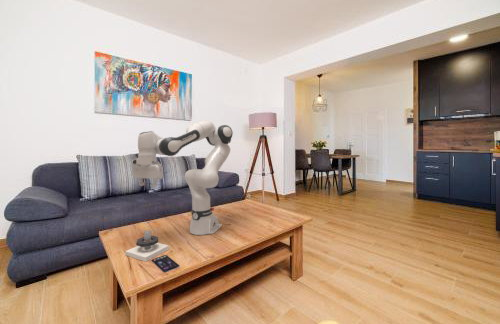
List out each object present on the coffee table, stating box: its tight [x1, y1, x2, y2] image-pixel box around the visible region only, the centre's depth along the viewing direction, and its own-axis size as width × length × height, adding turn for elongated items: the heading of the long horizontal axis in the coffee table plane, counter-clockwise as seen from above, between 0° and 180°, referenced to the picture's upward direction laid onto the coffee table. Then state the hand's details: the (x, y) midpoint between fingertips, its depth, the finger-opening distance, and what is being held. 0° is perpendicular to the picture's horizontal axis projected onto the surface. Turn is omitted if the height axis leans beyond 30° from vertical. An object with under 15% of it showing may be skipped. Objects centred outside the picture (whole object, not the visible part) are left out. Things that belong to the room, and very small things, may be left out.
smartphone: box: [150, 254, 181, 274], centre depth 100 cm, size 8×1×15 cm
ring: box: [135, 235, 159, 247], centre depth 110 cm, size 10×10×1 cm
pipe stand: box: [124, 230, 170, 263], centre depth 110 cm, size 14×14×10 cm
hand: (147, 186), depth 121 cm, fingers open, 8 cm apart
